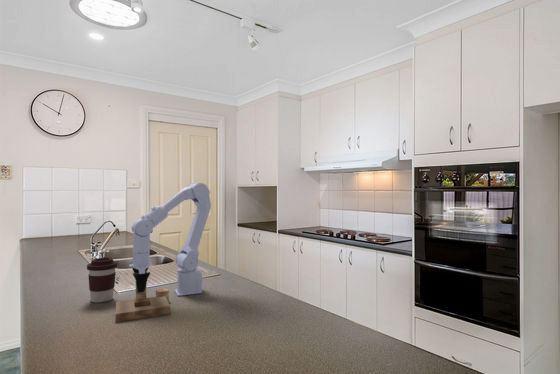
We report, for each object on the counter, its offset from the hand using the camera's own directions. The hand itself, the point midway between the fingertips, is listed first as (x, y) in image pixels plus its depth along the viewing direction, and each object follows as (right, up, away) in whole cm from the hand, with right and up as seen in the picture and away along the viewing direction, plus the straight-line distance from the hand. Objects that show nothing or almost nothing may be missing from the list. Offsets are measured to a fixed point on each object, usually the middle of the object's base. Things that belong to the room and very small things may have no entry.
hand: (140, 289), depth 120 cm
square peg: (0, -4, 0) cm, 4 cm away
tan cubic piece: (+8, -4, 0) cm, 9 cm away
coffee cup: (-15, -4, +1) cm, 15 cm away
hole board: (+5, -4, -11) cm, 13 cm away
